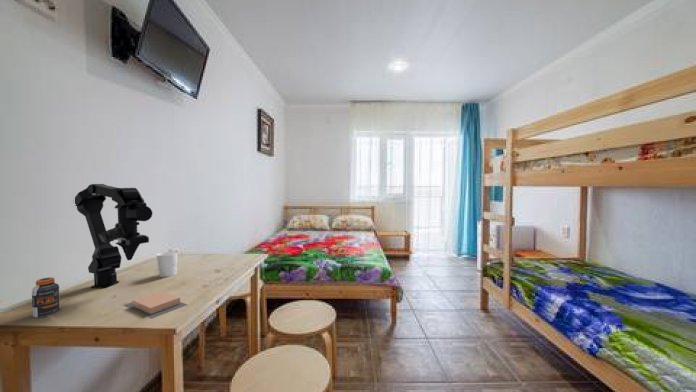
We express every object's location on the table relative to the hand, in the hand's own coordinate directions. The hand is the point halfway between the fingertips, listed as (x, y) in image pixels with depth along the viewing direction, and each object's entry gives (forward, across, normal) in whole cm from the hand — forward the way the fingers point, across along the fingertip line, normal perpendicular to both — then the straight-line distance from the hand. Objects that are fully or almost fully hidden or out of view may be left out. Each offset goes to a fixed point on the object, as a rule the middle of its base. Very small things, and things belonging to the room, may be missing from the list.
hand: (129, 260), depth 107 cm
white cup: (+12, -6, +17) cm, 22 cm away
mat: (+12, +24, -3) cm, 27 cm away
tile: (+10, +19, -2) cm, 22 cm away
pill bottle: (+12, -1, -22) cm, 26 cm away
